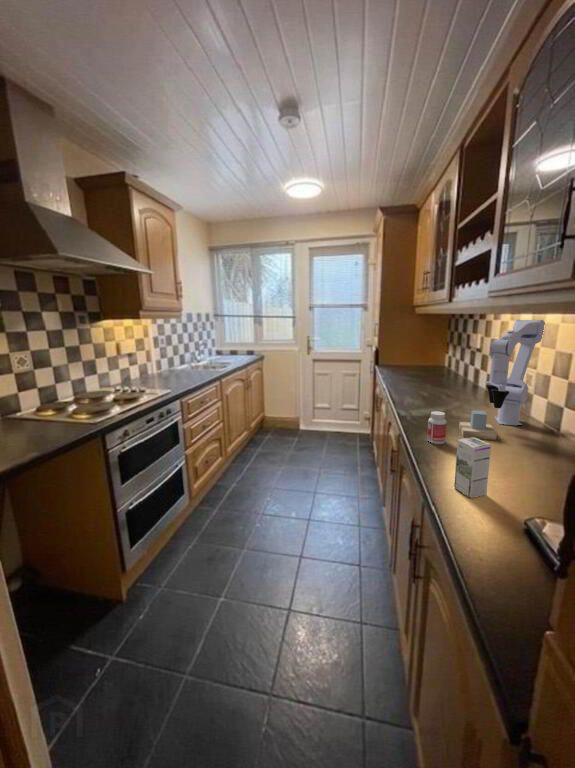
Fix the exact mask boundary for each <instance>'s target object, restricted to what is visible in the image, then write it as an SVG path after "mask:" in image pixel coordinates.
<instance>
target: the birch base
mask: <svg viewBox="0 0 575 768" xmlns="http://www.w3.org/2000/svg"><path fill="white" fill-rule="evenodd" d="M470 422H471V421H470ZM470 422H469V421H459V426H458V427H459V430H460V433H461V435H462V437H463V438H468V437H475V438H477V439H485V440H493V441H494V440H495V441H496V440H497V437H498V432H497V431H496V430H495V428H494V426H493V425H492V424H491V423H486V430H484V429H472V427H471V425H470Z"/></svg>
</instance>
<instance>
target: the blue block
mask: <svg viewBox="0 0 575 768" xmlns="http://www.w3.org/2000/svg"><path fill="white" fill-rule="evenodd" d="M470 414H471V415H470V425H471V427H472V429H484V430H486V424H487V420H488V419H487V418H488V414H487V413H486V411H485V410H475V409H474V410H471V413H470Z"/></svg>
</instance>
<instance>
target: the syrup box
mask: <svg viewBox="0 0 575 768" xmlns="http://www.w3.org/2000/svg"><path fill="white" fill-rule="evenodd" d="M456 443H457V445H456V446H457V447H456V459H455V473H454V485H453V486H454V487H455V488H456V489H458V490H459V491H461V492H462V493H464V494H465V495H467V496H468V497H476V496H480V497H483V496H482V495H484V496H487V491H488V481H489V470H490V463H491V462H490V460H491V452H492V444H491V443H489V442H487V441H484V440H481V439H480V438H475V437H463V438H460V439H457V442H456ZM455 488H454V489H455ZM456 489H455V490H456ZM458 490H457V491H458ZM459 491H458V492H459ZM461 492H460V493H461ZM462 493H461V494H462ZM464 494H463V495H464ZM465 495H464V496H465ZM467 496H466V497H467ZM468 497H467V498H468ZM476 498H477V497H476Z"/></svg>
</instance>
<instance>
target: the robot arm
mask: <svg viewBox="0 0 575 768" xmlns="http://www.w3.org/2000/svg"><path fill="white" fill-rule="evenodd" d="M512 325H513V327H512V329H511V330H507V332H505V333H504V334H503V335H502V336H501V337H500V338H498V339H497V338H496V339H495V340H492V342H490V347H489V352H490V356H489V357H490V359H491V363H490V371H489V381H485V384H486V385H485V386H486V388H487V392H488V398H489V399H488V400H489V403H490V404H493V407H494V408H495V409H497V416H494V419H495V421H497V422H498V424H499V425H503V424H504V425H505V426H517V425H522V426H523V424H522V423H521V422H520V421H519V420H520V417H521V416H520V413H521V408H522V407H521V405H522V404H524V403H525V402H526V401H527V398H528V392H529V385H527V383H526V382H525V381H523V380H524V378H525V375H526V372H527V369H528V366H529V363H530V360H531V357H532V355H533V351H534V349H535V346H536V345H537V344H539V343H540V342H541V341H542V339H543V337H542V335H543V336H544V334H543V332H544V333H545V331H543V330H544V325H545V326H546V323H545V321H544V319H516V320H515V321H514V322H513V324H512ZM518 344H520V345H519V348H518V351H517V354H516V357H515V360H514V362H513V365H512V368H511V372H510V374H509V368H510V367H509V365H510V358H511V355H512V354H513V353H514V350H515V348H516V345H518ZM508 374H509V377H508Z"/></svg>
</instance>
